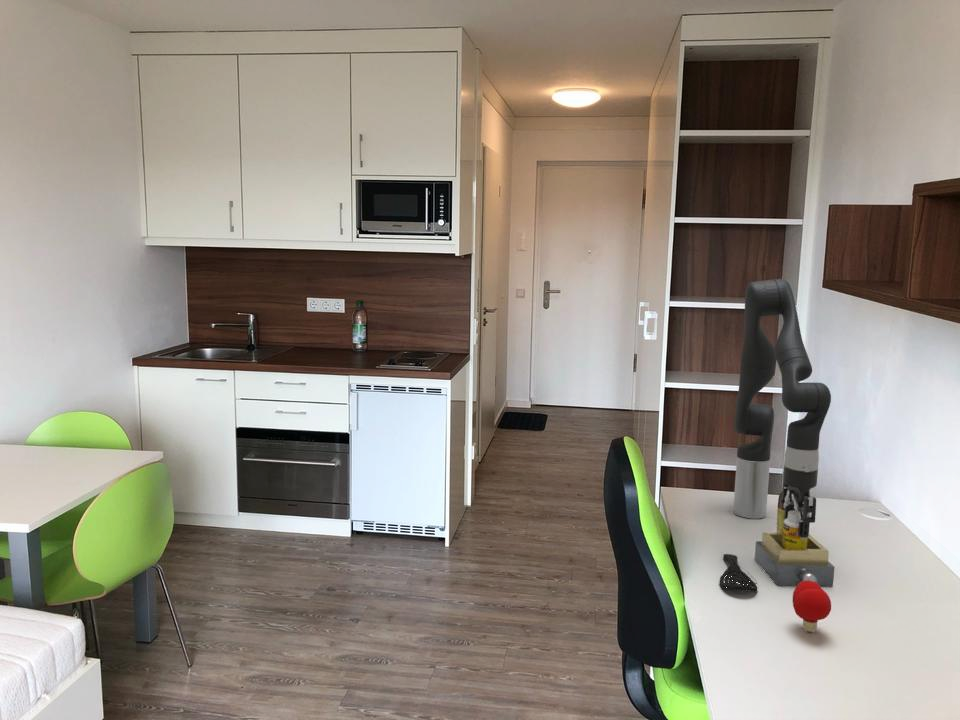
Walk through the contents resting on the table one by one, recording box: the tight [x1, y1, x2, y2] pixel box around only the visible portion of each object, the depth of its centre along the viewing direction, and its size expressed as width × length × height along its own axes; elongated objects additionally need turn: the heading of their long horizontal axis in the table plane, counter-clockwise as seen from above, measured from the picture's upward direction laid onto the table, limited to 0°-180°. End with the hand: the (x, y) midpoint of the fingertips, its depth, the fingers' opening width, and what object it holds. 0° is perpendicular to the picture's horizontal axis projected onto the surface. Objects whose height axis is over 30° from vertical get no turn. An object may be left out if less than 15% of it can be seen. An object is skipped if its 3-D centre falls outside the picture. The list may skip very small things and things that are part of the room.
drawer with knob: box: [754, 532, 835, 588], centre depth 183 cm, size 18×13×8 cm
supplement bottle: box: [782, 511, 808, 549], centre depth 184 cm, size 6×6×10 cm
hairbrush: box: [718, 553, 758, 592], centre depth 183 cm, size 8×4×25 cm
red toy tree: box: [792, 581, 832, 634], centre depth 156 cm, size 9×7×10 cm
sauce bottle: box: [776, 490, 795, 533], centre depth 202 cm, size 6×6×20 cm
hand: (795, 530), depth 184 cm, fingers open, 8 cm apart
